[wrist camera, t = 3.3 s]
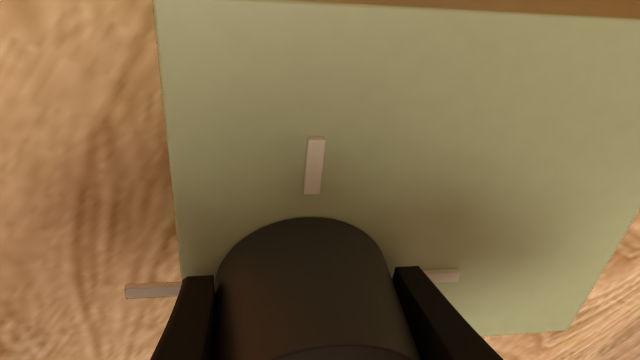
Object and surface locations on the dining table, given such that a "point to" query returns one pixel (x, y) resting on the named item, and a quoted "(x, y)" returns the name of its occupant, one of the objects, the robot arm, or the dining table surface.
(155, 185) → the dining table surface
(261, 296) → the knob
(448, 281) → the panel
